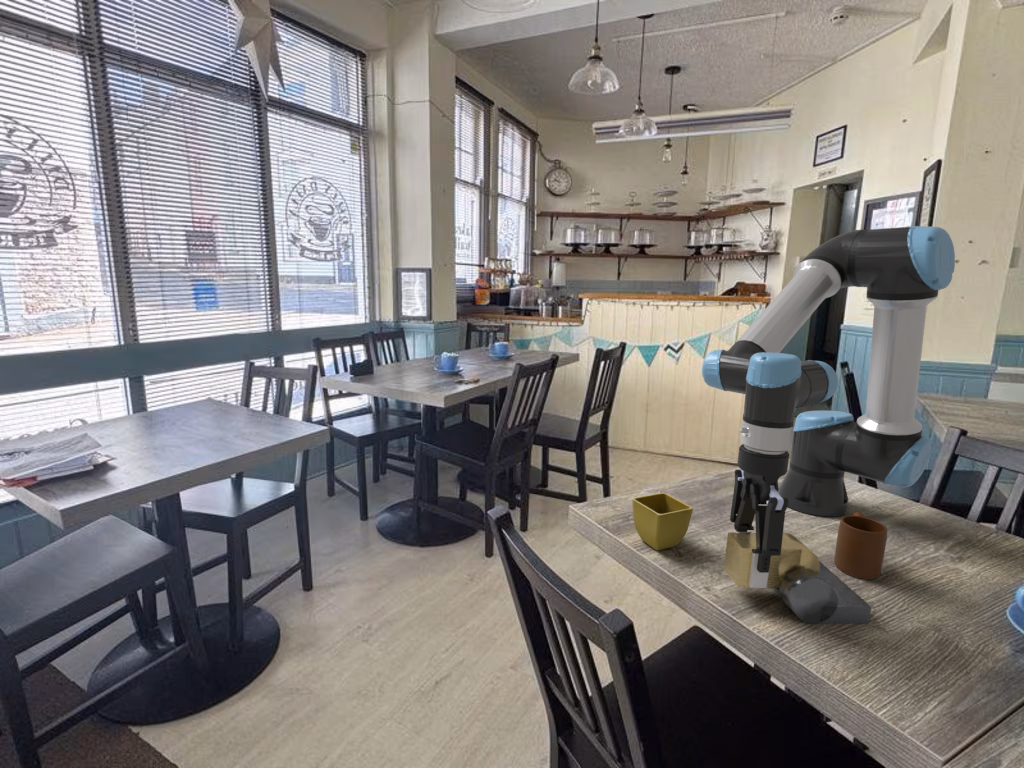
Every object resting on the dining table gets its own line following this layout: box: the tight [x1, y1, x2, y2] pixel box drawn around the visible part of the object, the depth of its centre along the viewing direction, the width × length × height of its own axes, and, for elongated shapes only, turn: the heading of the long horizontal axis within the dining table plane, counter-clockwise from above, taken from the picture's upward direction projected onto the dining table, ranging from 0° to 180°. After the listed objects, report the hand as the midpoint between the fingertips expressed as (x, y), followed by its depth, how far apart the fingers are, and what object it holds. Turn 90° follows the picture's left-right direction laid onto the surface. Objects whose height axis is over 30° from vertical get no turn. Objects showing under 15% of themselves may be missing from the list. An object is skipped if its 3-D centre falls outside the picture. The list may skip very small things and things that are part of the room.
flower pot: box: [631, 492, 694, 551], centre depth 109 cm, size 9×9×9 cm
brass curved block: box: [723, 531, 821, 588], centre depth 92 cm, size 14×6×7 cm, turn 92°
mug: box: [833, 511, 888, 580], centre depth 103 cm, size 12×8×9 cm, turn 154°
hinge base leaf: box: [779, 560, 872, 625], centre depth 93 cm, size 12×16×7 cm
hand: (748, 576), depth 92 cm, fingers closed on brass curved block, 6 cm apart
